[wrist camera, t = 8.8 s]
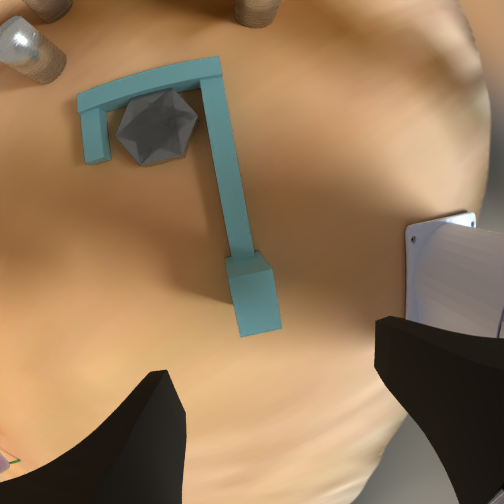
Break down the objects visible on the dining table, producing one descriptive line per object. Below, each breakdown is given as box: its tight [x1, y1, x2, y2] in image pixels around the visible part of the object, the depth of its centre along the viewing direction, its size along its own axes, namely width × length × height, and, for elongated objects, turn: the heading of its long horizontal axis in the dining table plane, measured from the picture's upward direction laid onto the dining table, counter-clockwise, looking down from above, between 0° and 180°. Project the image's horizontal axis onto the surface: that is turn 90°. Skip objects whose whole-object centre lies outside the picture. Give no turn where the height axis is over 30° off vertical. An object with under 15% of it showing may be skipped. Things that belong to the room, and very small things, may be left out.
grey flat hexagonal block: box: [115, 87, 199, 167], centre depth 14 cm, size 4×5×1 cm
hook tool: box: [77, 56, 282, 337], centre depth 13 cm, size 14×9×4 cm, turn 10°
